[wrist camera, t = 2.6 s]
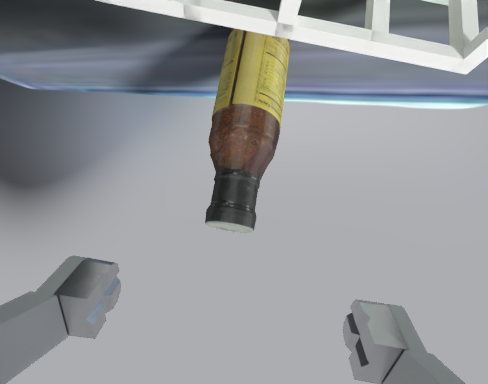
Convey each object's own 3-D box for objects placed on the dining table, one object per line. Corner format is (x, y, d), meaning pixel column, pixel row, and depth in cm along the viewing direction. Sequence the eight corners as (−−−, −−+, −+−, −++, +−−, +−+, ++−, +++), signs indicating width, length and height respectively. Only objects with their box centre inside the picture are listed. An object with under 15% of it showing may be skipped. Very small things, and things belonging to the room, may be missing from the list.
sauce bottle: (244, 60, 32) (207, 231, 27) (220, 13, 26) (168, 215, 21) (300, 52, 29) (272, 239, 24) (287, -2, 24) (247, 224, 19)
